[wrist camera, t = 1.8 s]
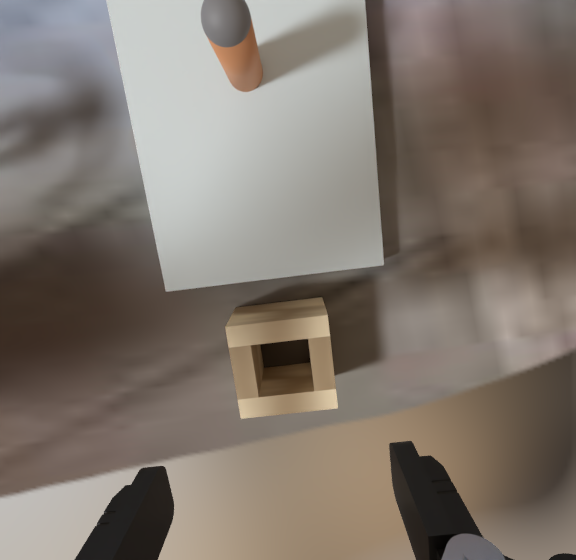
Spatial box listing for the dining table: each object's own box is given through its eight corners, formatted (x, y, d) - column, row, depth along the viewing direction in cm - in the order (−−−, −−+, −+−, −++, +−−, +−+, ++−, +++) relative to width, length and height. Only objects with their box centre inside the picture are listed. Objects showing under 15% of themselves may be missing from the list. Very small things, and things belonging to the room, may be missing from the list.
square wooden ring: (248, 386, 26) (240, 418, 22) (235, 307, 25) (225, 327, 21) (330, 377, 26) (337, 408, 22) (322, 297, 25) (327, 314, 21)
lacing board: (173, 286, 24) (112, 329, 16) (113, -14, 21) (-6, -159, 12) (378, 261, 24) (424, 292, 16) (355, -52, 20) (398, -229, 12)
